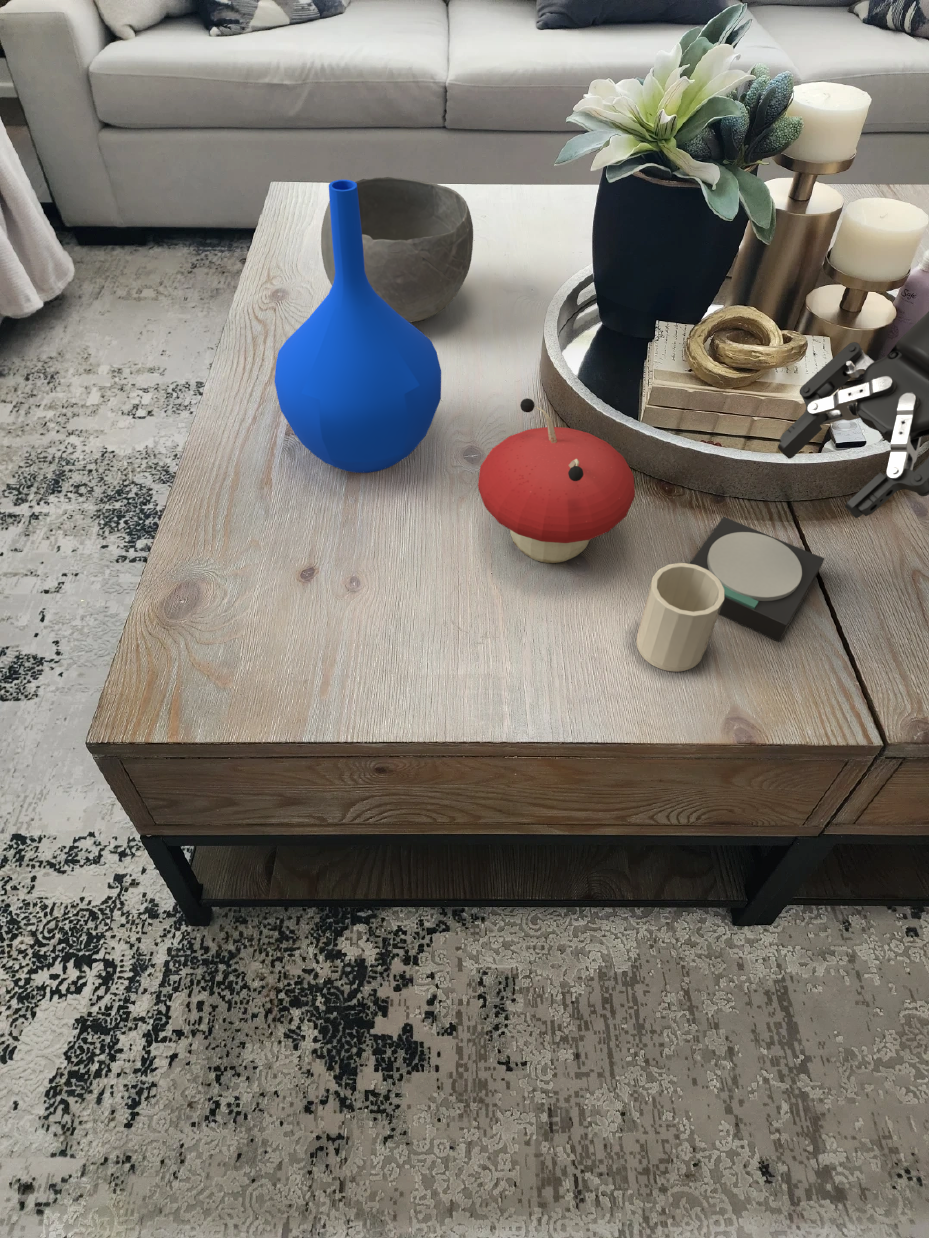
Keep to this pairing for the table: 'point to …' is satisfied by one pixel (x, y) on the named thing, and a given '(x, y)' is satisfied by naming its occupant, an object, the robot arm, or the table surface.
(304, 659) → the table surface
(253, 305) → the table surface
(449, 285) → the bowl
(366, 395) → the vase
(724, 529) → the kitchen scale
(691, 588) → the beige cup
